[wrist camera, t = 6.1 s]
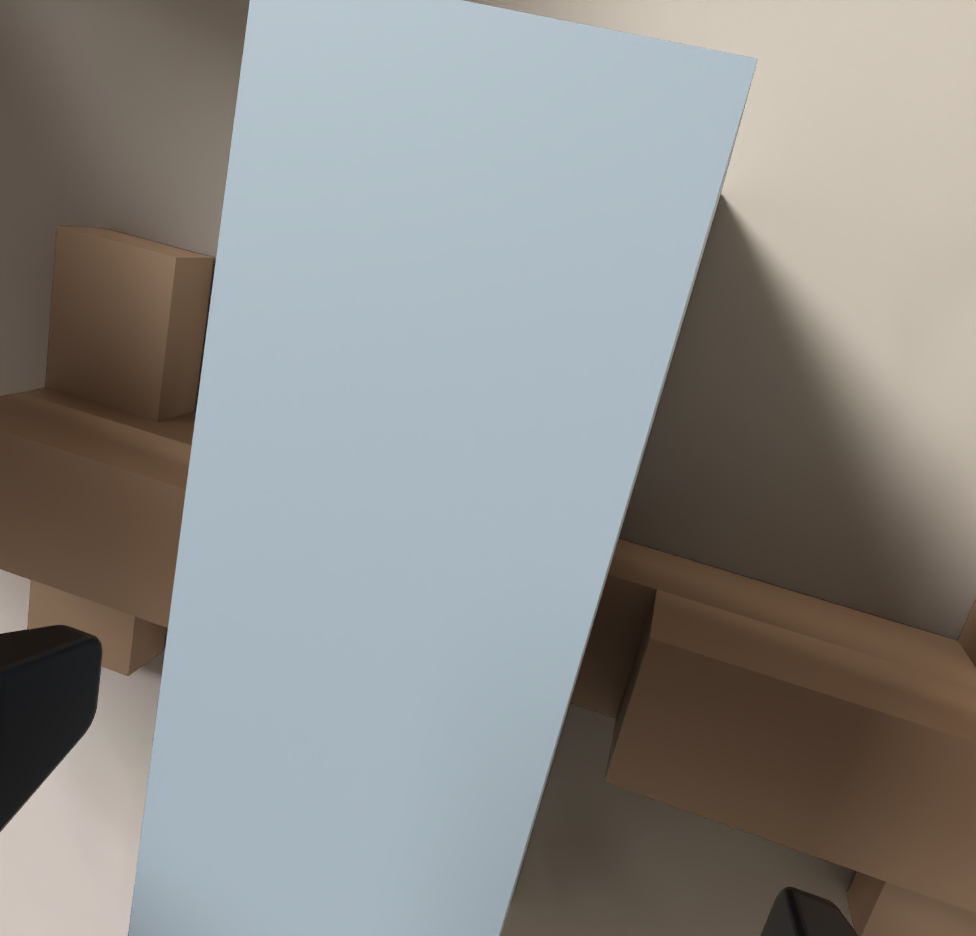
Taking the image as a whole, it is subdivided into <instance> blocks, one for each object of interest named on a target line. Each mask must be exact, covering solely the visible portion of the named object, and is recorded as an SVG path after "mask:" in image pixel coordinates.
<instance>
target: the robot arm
mask: <svg viewBox="0 0 976 936" xmlns="http://www.w3.org/2000/svg"><path fill="white" fill-rule="evenodd" d="M102 653H103V648H102V644H101V642H100V640H99V639H98V638H97V637H96V636H95V635H92V634H89V633H86V632H84V631H81V630H78V629H75V628H73V627H70V626H67V625H53V626H46V627H40V628H34V629H28V630H22V631H15V632H9V633H3V634H0V832H1V831H2V830H3V828H4V827H5V826H6V825H7V824H8V823H9V821H10V820H11V819H12V818H13V817H14V816H15V815H16V813H17V812H18V811H19V810H20V809H21V808H22V806H23V805H24V804H25V803H26V802H27V801H28V799H29V798H30V797H31V796H32V795H33V794H34V792H35V791H36V790H37V789H38V788H39V787H40V785H41V784H42V783H43V782H44V781H45V780H46V778H47V777H48V776H49V775H50V774H51V773H52V771H53V770H54V769H55V768H56V767H57V766H58V765H59V763H60V762H61V761H62V760H63V759H64V758H65V756H66V755H67V754H68V753H69V752H70V751H71V749H72V748H73V747H74V746H75V745H76V744H77V742H78V741H79V740H80V739H81V738H82V737H83V735H84V734H85V733H86V731H87V730H88V728H89V727H90V725H91V723H92V721H93V719H94V716H95V713H96V709H97V702H98V693H99V683H100V674H101V664H102ZM761 936H859V935H858V934H857V933H856V931H855V930H854V929H853V927H852V926H851V925H850V923H849V922H848V921H847V919H846V918H845V917H844V915H843V914H842V913H841V911H840V910H839V909H838V908H837V907H836V906H835V904H833V903H832V902H831V901H829V900H826V899H824V898H821V897H818V896H815V895H813V894H810V893H807V892H804V891H801V890H799V889H796V888H793V887H786V888H784V889H782V890H781V891H780V893H779V894H778V895H777V897H776V899H775V901H774V904H773V906H772V909H771V911H770V914H769V916H768V919H767V921H766V923H765V926H764V928H763V931H762V933H761Z"/></svg>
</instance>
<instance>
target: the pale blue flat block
mask: <svg viewBox="0 0 976 936" xmlns="http://www.w3.org/2000/svg"><path fill="white" fill-rule="evenodd" d="M757 60H758V59H757V58H752V57H747V56H742V55H736V54H731V53H726V52H721V51H716V50H711V49H706V48H701V47H696V46H691V45H686V44H681V43H676V42H671V41H666V40H661V39H656V38H651V37H645V36H640V35H635V34H630V33H625V32H620V31H615V30H610V29H605V28H600V27H595V26H590V25H585V24H580V23H575V22H570V21H565V20H560V19H554V18H549V17H544V16H539V15H534V14H529V13H524V12H519V11H514V10H509V9H504V8H499V7H494V6H489V5H484V4H479V3H474V2H469V1H464V0H250V2H249V10H248V18H247V25H246V33H245V41H244V48H243V56H242V64H241V71H240V79H239V87H238V94H237V102H236V110H235V117H234V125H233V133H232V140H231V148H230V156H229V163H228V171H227V179H226V186H225V194H224V202H223V210H222V217H221V225H220V233H219V240H218V248H217V256H216V263H215V271H214V279H213V286H212V294H211V302H210V309H209V317H208V325H207V332H206V340H205V348H204V355H203V363H202V371H201V378H200V386H199V394H198V401H197V409H196V417H195V424H194V432H193V440H192V447H191V455H190V463H189V470H188V478H187V486H186V493H185V501H184V509H183V516H182V524H181V532H180V539H179V547H178V555H177V562H176V570H175V578H174V585H173V593H172V601H171V608H170V616H169V624H168V632H167V639H166V647H165V655H164V662H163V670H162V678H161V685H160V693H159V701H158V708H157V716H156V724H155V731H154V739H153V747H152V754H151V762H150V770H149V777H148V785H147V793H146V800H145V808H144V816H143V823H142V831H141V839H140V846H139V854H138V862H137V869H136V877H135V885H134V892H133V900H132V908H131V915H130V923H129V931H128V936H501V934H502V930H503V927H504V924H505V920H506V917H507V914H508V910H509V907H510V904H511V900H512V897H513V893H514V890H515V887H516V883H517V880H518V877H519V873H520V870H521V866H522V863H523V860H524V856H525V853H526V850H527V846H528V843H529V839H530V836H531V833H532V829H533V826H534V823H535V819H536V816H537V812H538V809H539V806H540V802H541V799H542V796H543V792H544V789H545V785H546V782H547V779H548V775H549V772H550V769H551V765H552V762H553V758H554V755H555V752H556V748H557V745H558V742H559V738H560V735H561V731H562V728H563V725H564V721H565V718H566V715H567V711H568V708H569V704H570V700H571V697H572V694H573V690H574V687H575V683H576V680H577V677H578V673H579V670H580V666H581V663H582V660H583V656H584V653H585V650H586V646H587V643H588V639H589V636H590V633H591V629H592V626H593V623H594V619H595V616H596V612H597V609H598V606H599V602H600V599H601V596H602V592H603V589H604V585H605V582H606V579H607V575H608V572H609V569H610V565H611V562H612V558H613V555H614V552H615V548H616V545H617V542H618V538H619V535H620V532H621V528H622V525H623V522H624V518H625V515H626V512H627V508H628V505H629V502H630V499H631V495H632V492H633V488H634V485H635V482H636V478H637V475H638V472H639V468H640V465H641V461H642V458H643V455H644V451H645V448H646V445H647V441H648V438H649V434H650V431H651V428H652V424H653V421H654V418H655V414H656V411H657V407H658V404H659V401H660V397H661V394H662V391H663V387H664V384H665V380H666V377H667V374H668V370H669V367H670V364H671V360H672V357H673V353H674V350H675V347H676V343H677V340H678V337H679V333H680V330H681V326H682V323H683V320H684V316H685V313H686V310H687V306H688V303H689V299H690V296H691V293H692V289H693V286H694V283H695V279H696V276H697V272H698V269H699V266H700V262H701V259H702V256H703V252H704V249H705V245H706V242H707V239H708V235H709V232H710V229H711V225H712V222H713V218H714V215H715V212H716V208H717V205H718V202H719V198H720V195H721V191H722V188H723V184H724V180H725V177H726V173H727V169H728V166H729V162H730V159H731V155H732V151H733V148H734V144H735V140H736V137H737V133H738V129H739V126H740V122H741V119H742V115H743V111H744V108H745V104H746V100H747V97H748V93H749V89H750V86H751V82H752V79H753V75H754V71H755V68H756V64H757Z"/></svg>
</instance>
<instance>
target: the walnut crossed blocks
mask: <svg viewBox="0 0 976 936" xmlns="http://www.w3.org/2000/svg"><path fill="white" fill-rule="evenodd" d="M213 262H214V257H210V256H207V255H203V254H199V253H195V252H191V251H188V250H184V249H180V248H176V247H173V246H169V245H165V244H161V243H158V242H154V241H150V240H146V239H142V238H139V237H135V236H131V235H127V234H124V233H120V232H116V231H112V230H108V229H105V228H95V227H74V226H57V231H56V245H55V259H54V272H53V286H52V300H51V313H50V327H49V340H48V354H47V368H46V381H45V388H41V389H36V390H31V391H26V392H21V393H16V394H11V395H6V396H1V397H0V569H2V570H5V571H8V572H11V573H13V574H16V575H19V576H22V577H25V578H28V579H30V580H31V586H30V600H29V613H28V627H27V630H28V629H34V628H40V627H46V626H53V625H67V626H70V627H73V628H75V629H78V630H81V631H84V632H86V633H89V634H92V635H95V636H96V637H97V638H98V639H99V640H100V642H101V644H102V648H103V653H102V664H101V666H102V667H105V668H108V669H110V670H113V671H116V672H118V673H121V674H124V675H127V676H129V675H130V674H132V673H133V672H134V671H136V670H137V669H139V668H140V667H141V666H143V665H144V664H145V663H147V662H148V661H149V660H151V659H152V658H154V657H155V656H156V655H158V654H159V653H160V652H162V651H163V650H164V646H165V638H166V630H167V628H168V624H169V616H170V608H171V601H172V593H173V585H174V578H175V570H176V562H177V555H178V547H179V539H180V532H181V524H182V516H183V509H184V501H185V493H186V486H187V478H188V470H189V463H190V455H191V447H192V440H193V432H194V424H195V417H196V411H195V403H196V395H197V387H198V380H199V372H200V364H201V356H202V348H203V340H204V333H205V325H206V317H207V309H208V301H209V293H210V286H211V278H212V270H213ZM570 703H572V704H575V705H578V706H581V707H584V708H587V709H590V710H593V711H596V712H599V713H602V714H605V715H608V716H611V717H614V718H616V722H615V728H614V733H613V738H612V744H611V749H610V754H609V759H608V765H607V770H606V775H605V781H604V782H605V783H608V784H611V785H614V786H617V787H619V788H622V789H625V790H628V791H631V792H634V793H636V794H639V795H642V796H645V797H648V798H651V799H653V800H656V801H659V802H662V803H665V804H668V805H670V806H673V807H676V808H679V809H682V810H685V811H687V812H690V813H693V814H696V815H699V816H702V817H704V818H707V819H710V820H713V821H716V822H719V823H721V824H724V825H727V826H730V827H733V828H736V829H738V830H741V831H744V832H747V833H750V834H753V835H755V836H758V837H761V838H764V839H767V840H770V841H772V842H775V843H778V844H781V845H784V846H787V847H789V848H792V849H795V850H798V851H801V852H804V853H806V854H809V855H812V856H815V857H818V858H821V859H823V860H826V861H829V862H832V863H835V864H838V865H840V866H843V867H846V868H849V869H852V870H855V871H857V872H856V874H855V876H854V879H853V881H852V883H851V885H850V888H849V890H848V892H847V899H848V904H849V908H850V913H851V917H852V922H853V926H854V930H855V931H856V933H857V934H858V935H859V936H976V601H975V603H974V605H973V607H972V610H971V612H970V614H969V617H968V619H967V621H966V623H965V626H964V628H963V630H962V633H961V635H960V637H959V639H958V641H957V640H953V639H950V638H947V637H943V636H940V635H937V634H933V633H930V632H927V631H924V630H920V629H917V628H914V627H910V626H907V625H904V624H900V623H897V622H894V621H890V620H887V619H884V618H880V617H877V616H874V615H870V614H867V613H864V612H860V611H857V610H854V609H850V608H847V607H844V606H841V605H837V604H834V603H831V602H827V601H824V600H821V599H817V598H814V597H811V596H807V595H804V594H801V593H797V592H794V591H791V590H787V589H784V588H781V587H777V586H774V585H771V584H768V583H764V582H761V581H758V580H754V579H751V578H748V577H744V576H741V575H738V574H734V573H731V572H728V571H724V570H721V569H718V568H714V567H711V566H708V565H704V564H701V563H698V562H695V561H691V560H688V559H685V558H681V557H678V556H675V555H671V554H668V553H665V552H661V551H658V550H655V549H651V548H648V547H645V546H641V545H638V544H635V543H631V542H628V541H625V540H621V539H618V542H617V545H616V548H615V552H614V555H613V558H612V562H611V565H610V569H609V572H608V575H607V579H606V582H605V585H604V589H603V592H602V596H601V599H600V602H599V606H598V609H597V612H596V616H595V619H594V623H593V626H592V629H591V633H590V636H589V639H588V643H587V646H586V650H585V653H584V656H583V660H582V663H581V666H580V670H579V673H578V677H577V680H576V683H575V687H574V690H573V694H572V697H571V700H570Z"/></svg>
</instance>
